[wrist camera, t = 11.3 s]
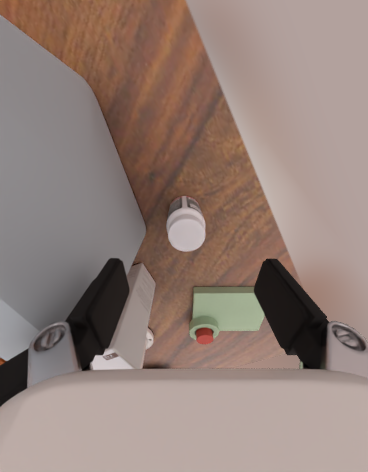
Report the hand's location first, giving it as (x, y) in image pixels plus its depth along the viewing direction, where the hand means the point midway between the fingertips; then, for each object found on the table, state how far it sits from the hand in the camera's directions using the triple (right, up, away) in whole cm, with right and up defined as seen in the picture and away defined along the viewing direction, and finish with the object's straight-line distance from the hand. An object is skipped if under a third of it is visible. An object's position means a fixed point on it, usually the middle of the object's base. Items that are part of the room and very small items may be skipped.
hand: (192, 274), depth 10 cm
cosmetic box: (-11, -6, +20) cm, 23 cm away
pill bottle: (0, +7, +13) cm, 15 cm away
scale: (+9, -14, +24) cm, 29 cm away
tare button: (+4, -19, +23) cm, 30 cm away
